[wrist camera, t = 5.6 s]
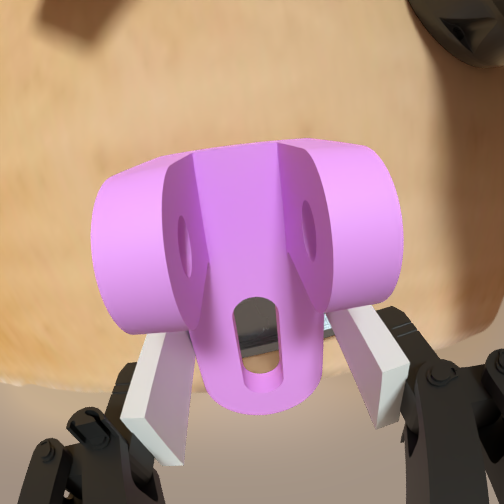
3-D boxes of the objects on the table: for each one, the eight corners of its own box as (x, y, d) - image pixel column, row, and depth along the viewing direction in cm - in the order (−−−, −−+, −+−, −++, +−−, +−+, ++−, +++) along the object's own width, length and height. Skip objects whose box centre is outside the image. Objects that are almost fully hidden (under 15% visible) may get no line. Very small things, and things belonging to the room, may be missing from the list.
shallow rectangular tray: (352, 221, 26) (360, 228, 24) (361, 313, 29) (368, 325, 28) (173, 266, 26) (168, 276, 24) (208, 351, 30) (207, 364, 28)
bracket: (160, 156, 11) (71, 194, 4) (308, 138, 11) (405, 153, 4) (216, 400, 16) (215, 510, 9) (314, 387, 16) (345, 493, 9)
